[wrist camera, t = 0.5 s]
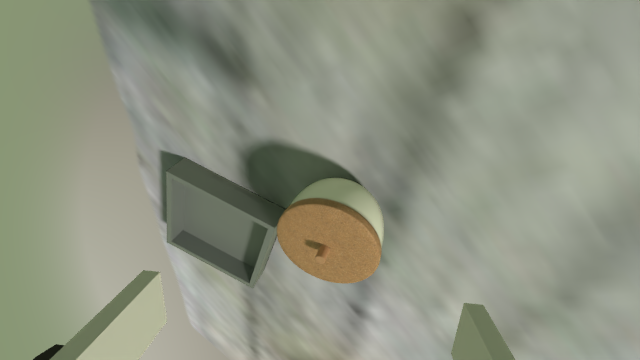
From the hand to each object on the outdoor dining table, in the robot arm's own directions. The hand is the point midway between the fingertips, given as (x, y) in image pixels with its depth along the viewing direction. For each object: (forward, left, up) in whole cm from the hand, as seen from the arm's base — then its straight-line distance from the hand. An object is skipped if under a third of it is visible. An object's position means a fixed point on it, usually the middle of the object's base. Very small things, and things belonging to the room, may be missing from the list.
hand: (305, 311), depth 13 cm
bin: (+25, -14, -20) cm, 35 cm away
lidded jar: (+11, 0, -21) cm, 23 cm away
